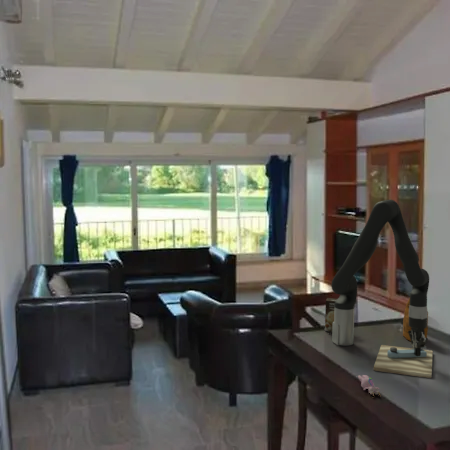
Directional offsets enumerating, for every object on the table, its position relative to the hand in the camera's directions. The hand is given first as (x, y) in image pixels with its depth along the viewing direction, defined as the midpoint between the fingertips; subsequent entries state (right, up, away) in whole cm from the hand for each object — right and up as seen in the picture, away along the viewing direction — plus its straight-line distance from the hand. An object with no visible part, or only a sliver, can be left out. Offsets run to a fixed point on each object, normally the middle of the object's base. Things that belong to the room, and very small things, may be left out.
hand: (417, 355), depth 233 cm
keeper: (+3, -1, +8) cm, 8 cm away
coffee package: (+10, 0, +34) cm, 35 cm away
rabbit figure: (-29, -6, -29) cm, 41 cm away
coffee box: (-26, +1, +47) cm, 54 cm away
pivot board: (-5, -3, +1) cm, 6 cm away
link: (-4, -1, +3) cm, 5 cm away
